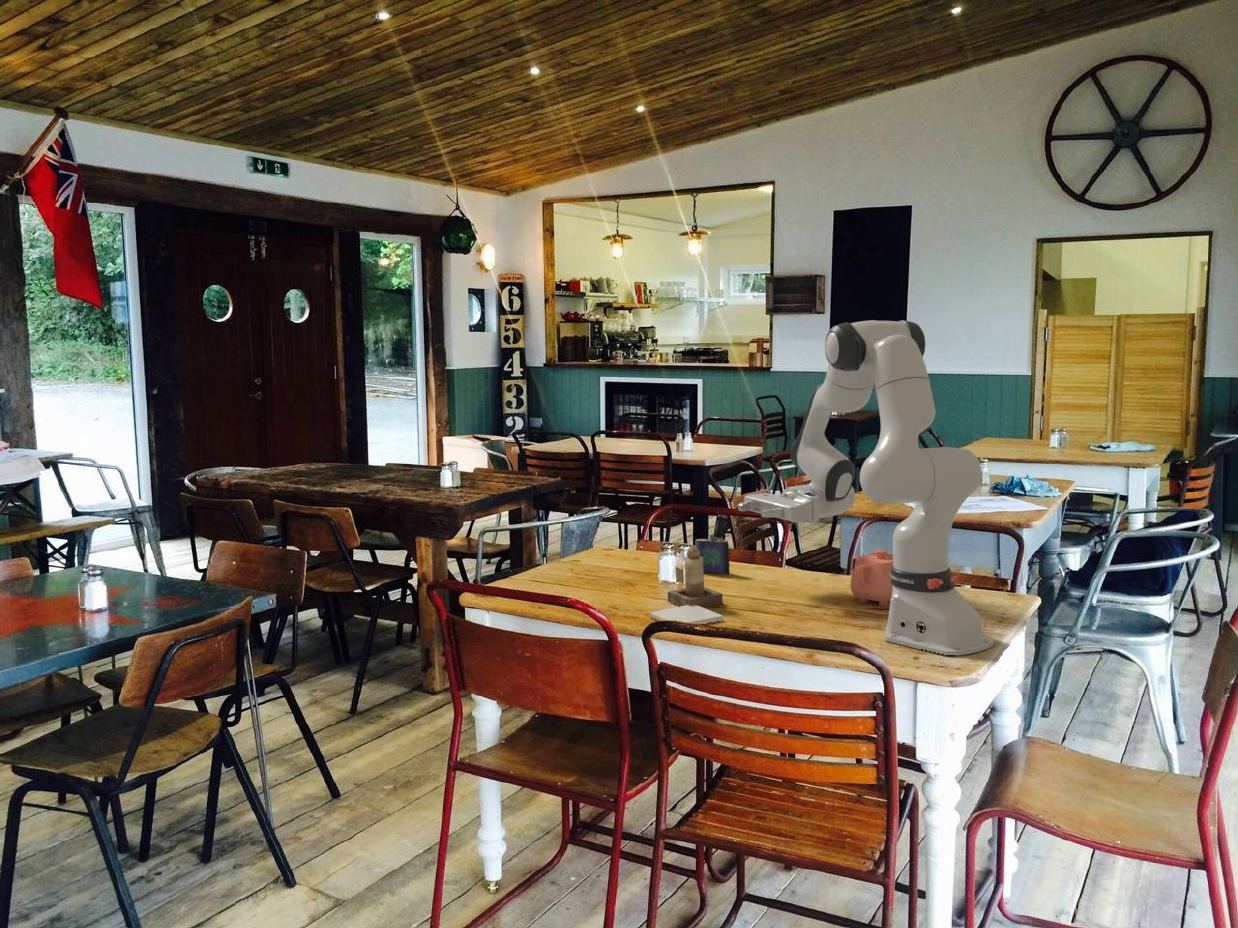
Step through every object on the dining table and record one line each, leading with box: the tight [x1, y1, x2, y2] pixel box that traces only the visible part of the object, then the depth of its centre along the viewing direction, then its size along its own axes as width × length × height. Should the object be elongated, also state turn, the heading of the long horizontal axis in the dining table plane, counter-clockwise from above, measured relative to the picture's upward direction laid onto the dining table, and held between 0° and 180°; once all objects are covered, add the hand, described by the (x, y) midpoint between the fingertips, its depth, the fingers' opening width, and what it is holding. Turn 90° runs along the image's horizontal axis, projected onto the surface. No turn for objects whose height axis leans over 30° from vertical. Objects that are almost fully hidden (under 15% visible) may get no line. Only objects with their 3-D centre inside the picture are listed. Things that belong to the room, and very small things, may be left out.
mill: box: [684, 546, 705, 598], centre depth 245 cm, size 4×4×14 cm
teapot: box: [850, 549, 893, 608], centre depth 242 cm, size 20×12×12 cm, turn 131°
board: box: [648, 605, 724, 624], centre depth 233 cm, size 12×12×1 cm
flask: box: [694, 532, 731, 576], centre depth 274 cm, size 9×3×11 cm, turn 65°
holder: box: [667, 586, 724, 609], centre depth 246 cm, size 9×9×2 cm
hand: (751, 510), depth 248 cm, fingers open, 8 cm apart
